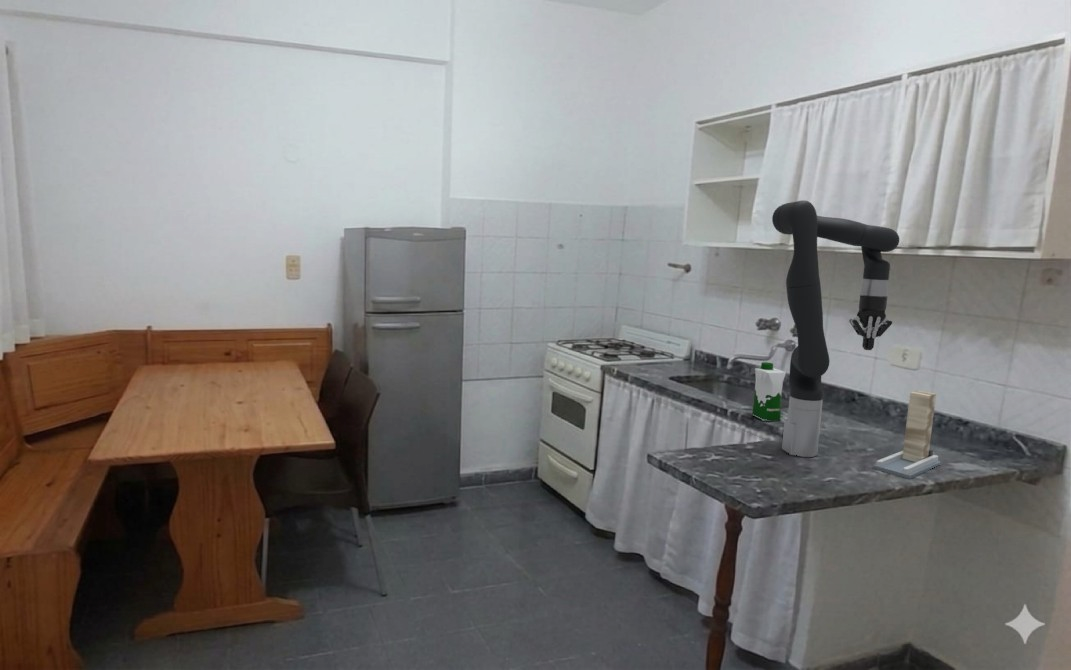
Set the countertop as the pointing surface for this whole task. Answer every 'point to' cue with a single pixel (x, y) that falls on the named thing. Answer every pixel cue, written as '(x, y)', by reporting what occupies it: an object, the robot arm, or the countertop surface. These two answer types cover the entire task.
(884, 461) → the chute
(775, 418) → the milk carton
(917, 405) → the block
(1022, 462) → the countertop surface
